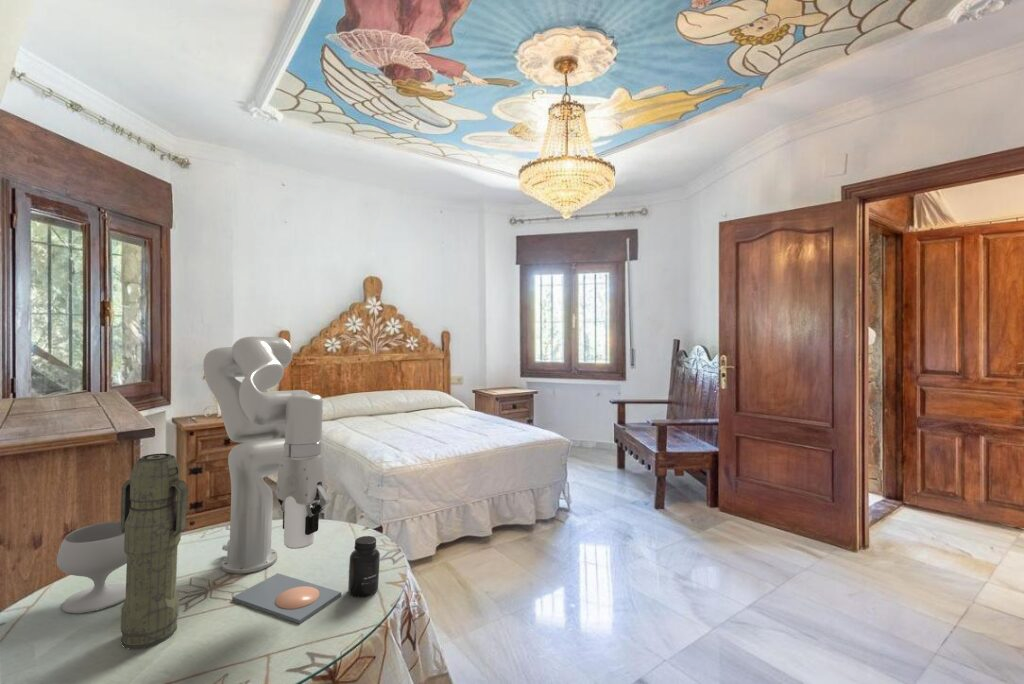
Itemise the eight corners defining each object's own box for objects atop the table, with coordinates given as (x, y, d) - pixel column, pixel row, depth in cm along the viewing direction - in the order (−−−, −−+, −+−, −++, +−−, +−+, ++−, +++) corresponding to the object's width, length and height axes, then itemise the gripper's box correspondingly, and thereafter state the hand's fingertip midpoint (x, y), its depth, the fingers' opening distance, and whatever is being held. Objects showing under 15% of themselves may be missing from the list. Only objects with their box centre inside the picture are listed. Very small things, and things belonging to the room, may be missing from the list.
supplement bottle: (369, 600, 107) (371, 547, 107) (342, 596, 108) (344, 544, 108) (383, 585, 113) (385, 535, 113) (357, 581, 115) (359, 532, 115)
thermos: (169, 648, 88) (175, 462, 88) (100, 651, 87) (106, 461, 87) (195, 620, 97) (201, 451, 97) (132, 622, 96) (139, 450, 96)
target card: (232, 600, 105) (232, 596, 105) (277, 576, 116) (277, 572, 116) (299, 623, 97) (300, 619, 97) (341, 595, 108) (341, 591, 108)
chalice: (114, 578, 112) (116, 515, 112) (154, 590, 108) (156, 525, 108) (39, 608, 99) (41, 537, 99) (81, 624, 95) (83, 549, 95)
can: (290, 537, 108) (291, 485, 108) (319, 536, 109) (320, 485, 109) (278, 549, 102) (280, 494, 102) (309, 549, 102) (310, 494, 102)
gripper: (260, 448, 105) (258, 529, 105) (319, 457, 99) (317, 543, 99) (288, 442, 112) (285, 518, 112) (345, 450, 106) (342, 531, 105)
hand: (300, 529), depth 105 cm, fingers closed on can, 5 cm apart
